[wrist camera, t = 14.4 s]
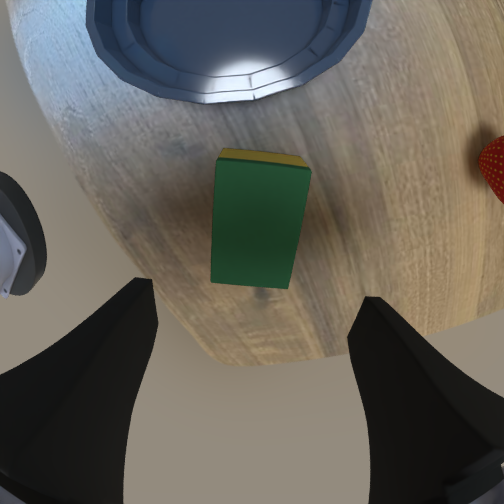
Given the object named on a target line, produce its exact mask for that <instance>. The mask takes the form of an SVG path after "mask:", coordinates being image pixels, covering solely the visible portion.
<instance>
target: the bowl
mask: <svg viewBox="0 0 504 504" xmlns="http://www.w3.org/2000/svg"><path fill="white" fill-rule="evenodd" d="M372 1H373V0H87V6H86V28H87V31H88V33H89V36H90V39H91V41H92V44H93V47H94V49H95V52H96V54H97V56H98V57H99V58H100V59H101V60H102V61H103V62H104V63H105V64H106V65H107V66H108V67H109V68H110V69H111V70H112V71H113V72H114V73H115V74H116V75H117V76H118V77H119V78H120V79H121V80H122V81H124V82H127V83H129V84H131V85H133V86H135V87H137V88H140V89H142V90H144V91H146V92H148V93H150V94H152V95H154V96H156V97H159V98H166V99H174V100H180V101H186V102H192V103H198V104H224V103H236V102H253V101H257V100H260V99H263V98H266V97H269V96H272V95H275V94H278V93H281V92H284V91H288V90H291V89H294V88H297V87H300V86H302V85H304V84H306V83H307V82H309V81H310V80H312V79H313V78H315V77H316V76H318V75H319V74H321V73H323V72H324V71H326V70H327V69H329V68H331V67H332V66H334V65H336V64H337V63H339V61H341V60H342V59H343V57H344V56H345V55H346V54H347V52H348V51H349V50H350V49H351V47H352V46H353V45H354V44H355V42H356V41H357V40H358V39H359V38H360V36H361V35H362V34H363V32H364V30H365V27H366V23H367V19H368V16H369V12H370V8H371V5H372Z"/></svg>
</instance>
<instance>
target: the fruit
mask: <svg viewBox="0 0 504 504" xmlns="http://www.w3.org/2000/svg"><path fill="white" fill-rule="evenodd" d="M478 164H479V168H480V171H481V173H482V175H483V177H484V178H485V180H486V181H487V183H488V184H489V186H490V187H491V189H492V190H493V192H494V193H495V195H496V196H497V197H498V199H499V200H500V201H501V202H502V203H503V204H504V136H501V137H499V138H497V139H495V140H493V141H492V142H491V143H489V144H488V145H487V146H486V147H485V148H484V149H483V150H482V152H481V154H480V156H479V159H478Z"/></svg>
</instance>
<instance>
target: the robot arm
mask: <svg viewBox="0 0 504 504" xmlns="http://www.w3.org/2000/svg"><path fill="white" fill-rule="evenodd" d="M26 250H27V247H26V244H25V243H24V242H23V241H22V240H21V238H20V237H19V236H18V235H17V234H16V233H15V231H14V230H13V229H12V228H11V226H10V225H9V224H8V223H7V222H6V220H5V219H4V218H3V216H2V215H1V214H0V294H1V295H2V296H3V297H4V298H8V296H9V294H10V291H11V288H12V285H13V282H14V280H15V277H16V274H17V272H18V269H19V267H20V264H21V262H22V260H23V257H24V255H25V253H26ZM157 328H158V317H157V312H156V305H155V298H154V290H153V283H152V279H145V278H136V277H135V278H134V279H133V280H131V281H130V282H129V283H128V284H127V285H125V286H124V287H123V288H122V289H121V290H120V291H118V292H117V293H116V294H115V295H114V296H113V297H112V298H110V299H109V300H108V301H107V302H106V303H105V304H104V305H102V306H101V307H100V308H99V309H98V310H97V311H95V312H94V313H93V314H92V315H91V316H89V317H88V318H87V319H86V320H84V321H83V322H82V323H81V324H79V325H78V326H77V327H76V328H74V329H73V330H72V331H71V332H69V333H68V334H67V335H66V336H64V337H63V338H61V339H60V340H59V341H57V342H56V343H54V344H53V345H51V346H50V347H48V348H47V349H45V350H44V351H42V352H41V353H39V354H37V355H36V356H34V357H32V358H31V359H29V360H27V361H25V362H24V363H22V364H20V365H19V366H17V367H15V368H13V369H11V370H9V371H7V372H5V373H3V374H1V375H0V504H123V480H124V465H125V454H126V446H127V439H128V432H129V426H130V421H131V415H132V411H133V407H134V403H135V399H136V397H137V394H138V391H139V388H140V385H141V382H142V379H143V375H144V373H145V370H146V367H147V364H148V361H149V358H150V356H151V353H152V349H153V346H154V342H155V337H156V332H157ZM347 339H348V346H349V353H350V359H351V363H352V367H353V371H354V374H355V378H356V381H357V385H358V388H359V392H360V396H361V399H362V403H363V407H364V411H365V415H366V420H367V427H368V436H369V445H370V469H371V470H370V493H369V503H368V504H504V466H503V467H501V464H502V463H503V462H504V398H503V397H501V396H499V395H498V394H496V393H494V392H492V391H491V390H489V389H487V388H486V387H484V386H482V385H481V384H479V383H478V382H476V381H475V380H473V379H472V378H471V377H469V376H468V375H466V374H465V373H464V372H462V371H461V370H460V369H458V368H457V367H456V366H455V365H454V364H452V363H451V362H450V361H449V360H447V359H446V358H445V357H444V356H443V355H442V354H440V353H439V352H438V351H437V350H436V349H435V348H434V347H433V346H432V345H431V344H429V343H428V342H427V341H426V340H425V339H424V338H423V337H422V336H421V335H420V334H419V333H418V332H417V331H416V330H415V329H414V328H413V327H412V326H411V325H410V324H409V323H408V322H407V321H406V320H405V319H404V318H403V317H402V316H401V315H400V314H398V313H397V312H396V311H395V310H394V309H393V308H392V307H391V306H390V305H389V304H388V303H387V302H385V301H384V300H383V299H382V298H381V297H367V296H365V298H364V301H363V303H362V305H361V308H360V310H359V312H358V314H357V317H356V319H355V321H354V323H353V325H352V328H351V330H350V332H349V334H348V336H347Z"/></svg>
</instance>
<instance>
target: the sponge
mask: <svg viewBox="0 0 504 504" xmlns="http://www.w3.org/2000/svg"><path fill="white" fill-rule="evenodd" d="M311 173H312V171H311V169H310V168H309V167H308V166H307V164H306V163H305V162H304V161H303V160H302V158H301V157H300V156H293V155H286V154H278V153H270V152H261V151H251V150H241V149H229V148H224V149H223V150H222V152H221V153H220V155H219V157H218V159H217V160H216V169H215V185H214V202H213V222H212V246H211V279H210V281H211V283H221V284H232V285H243V286H255V287H267V288H280V289H288V287H289V282H290V278H291V273H292V269H293V264H294V259H295V255H296V250H297V245H298V241H299V236H300V231H301V226H302V221H303V216H304V211H305V205H306V200H307V195H308V189H309V184H310V179H311Z"/></svg>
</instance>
